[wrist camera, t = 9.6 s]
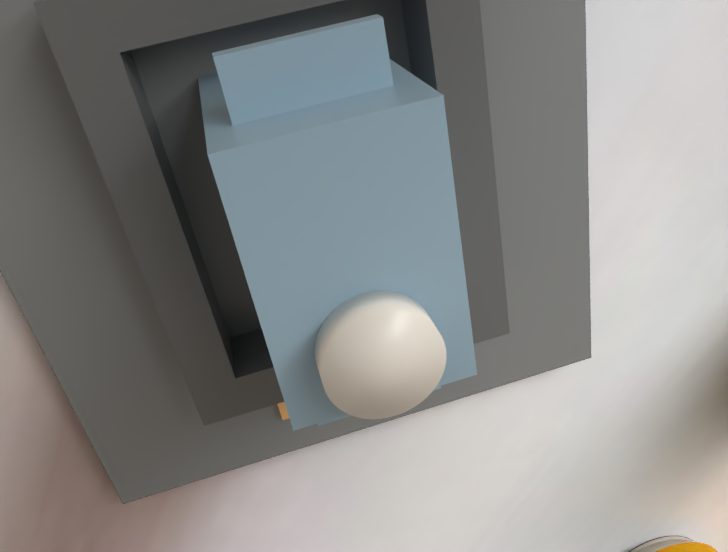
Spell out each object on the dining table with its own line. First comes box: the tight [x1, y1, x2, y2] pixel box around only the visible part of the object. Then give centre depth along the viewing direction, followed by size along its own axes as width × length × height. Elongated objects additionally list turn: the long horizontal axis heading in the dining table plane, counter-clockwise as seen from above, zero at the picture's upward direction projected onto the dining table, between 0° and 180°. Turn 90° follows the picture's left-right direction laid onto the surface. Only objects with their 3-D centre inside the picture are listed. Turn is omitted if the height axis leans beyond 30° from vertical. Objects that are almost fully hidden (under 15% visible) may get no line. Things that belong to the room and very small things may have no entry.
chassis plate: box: [0, 0, 591, 504], centre depth 17 cm, size 16×18×3 cm
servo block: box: [198, 14, 477, 431], centre depth 15 cm, size 4×8×7 cm, turn 11°
